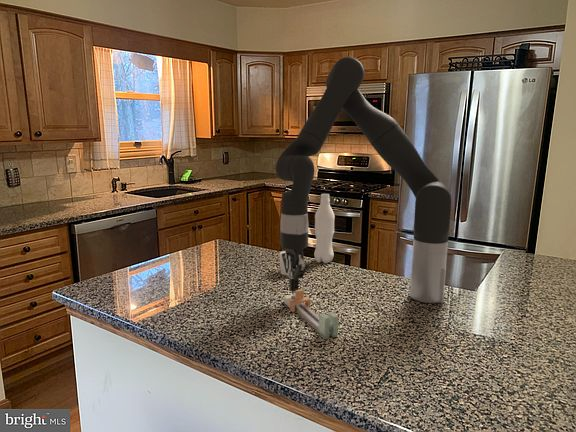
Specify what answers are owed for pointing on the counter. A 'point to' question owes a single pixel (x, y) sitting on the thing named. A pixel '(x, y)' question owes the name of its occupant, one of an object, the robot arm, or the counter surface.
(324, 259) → the water bottle
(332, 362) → the counter surface
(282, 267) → the shot glass
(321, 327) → the leg
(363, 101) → the robot arm
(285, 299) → the block
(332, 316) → the leg
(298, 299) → the stepped wooden block
